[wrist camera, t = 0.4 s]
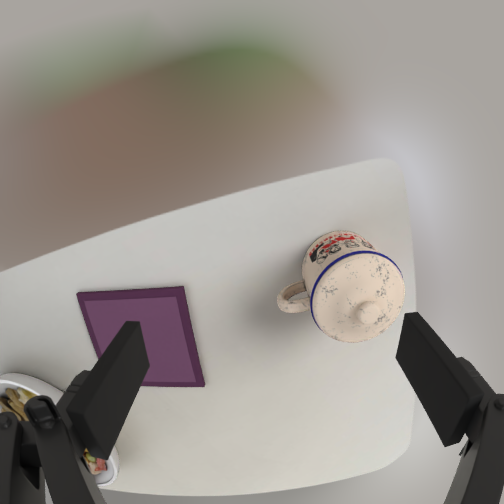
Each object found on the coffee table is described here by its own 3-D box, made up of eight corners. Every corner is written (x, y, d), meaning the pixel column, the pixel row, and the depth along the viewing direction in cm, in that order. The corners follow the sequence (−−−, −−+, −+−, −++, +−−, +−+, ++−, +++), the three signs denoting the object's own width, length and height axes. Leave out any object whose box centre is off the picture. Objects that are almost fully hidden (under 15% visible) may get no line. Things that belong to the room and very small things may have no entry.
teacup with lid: (369, 219, 34) (415, 251, 23) (379, 291, 37) (418, 343, 26) (265, 244, 35) (268, 288, 24) (283, 316, 38) (292, 378, 27)
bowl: (-22, 367, 44) (-41, 387, 37) (68, 359, 41) (45, 389, 34) (51, 463, 53) (40, 485, 45) (151, 473, 50) (143, 503, 42)
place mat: (78, 292, 38) (75, 294, 37) (183, 285, 37) (182, 288, 36) (110, 381, 42) (108, 384, 41) (205, 384, 41) (204, 387, 41)
